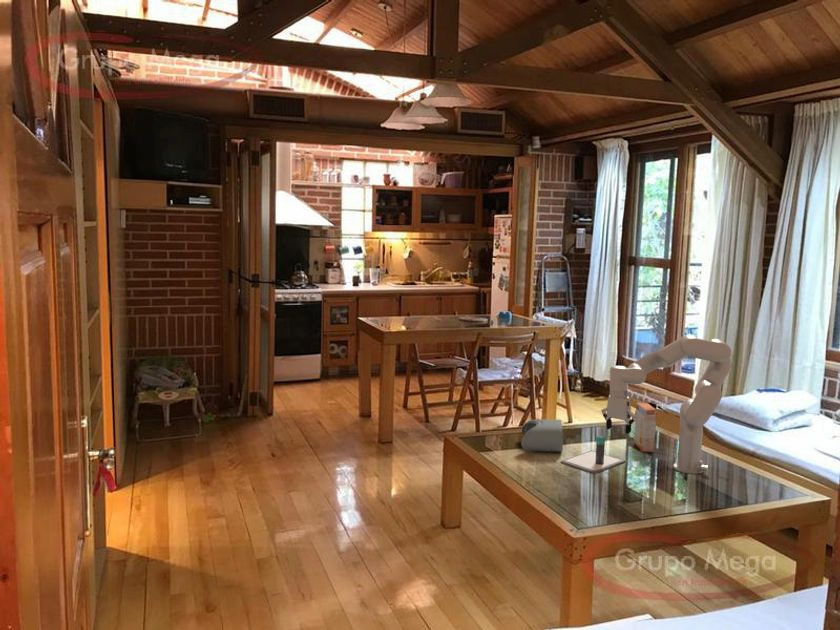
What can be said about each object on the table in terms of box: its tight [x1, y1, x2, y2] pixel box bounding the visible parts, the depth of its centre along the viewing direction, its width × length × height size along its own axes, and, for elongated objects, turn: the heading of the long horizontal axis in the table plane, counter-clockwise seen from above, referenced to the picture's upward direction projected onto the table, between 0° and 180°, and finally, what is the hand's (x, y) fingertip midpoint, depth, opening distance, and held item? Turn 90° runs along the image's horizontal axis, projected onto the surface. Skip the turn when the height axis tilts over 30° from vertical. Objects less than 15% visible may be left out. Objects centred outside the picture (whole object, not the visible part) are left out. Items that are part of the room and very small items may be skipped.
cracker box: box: [633, 402, 658, 453], centre depth 335 cm, size 14×6×21 cm, turn 179°
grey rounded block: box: [520, 419, 564, 452], centre depth 332 cm, size 22×19×13 cm
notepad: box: [560, 450, 626, 475], centre depth 314 cm, size 18×24×1 cm
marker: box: [595, 435, 606, 465], centre depth 309 cm, size 4×4×12 cm
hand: (618, 430), depth 311 cm, fingers open, 9 cm apart
